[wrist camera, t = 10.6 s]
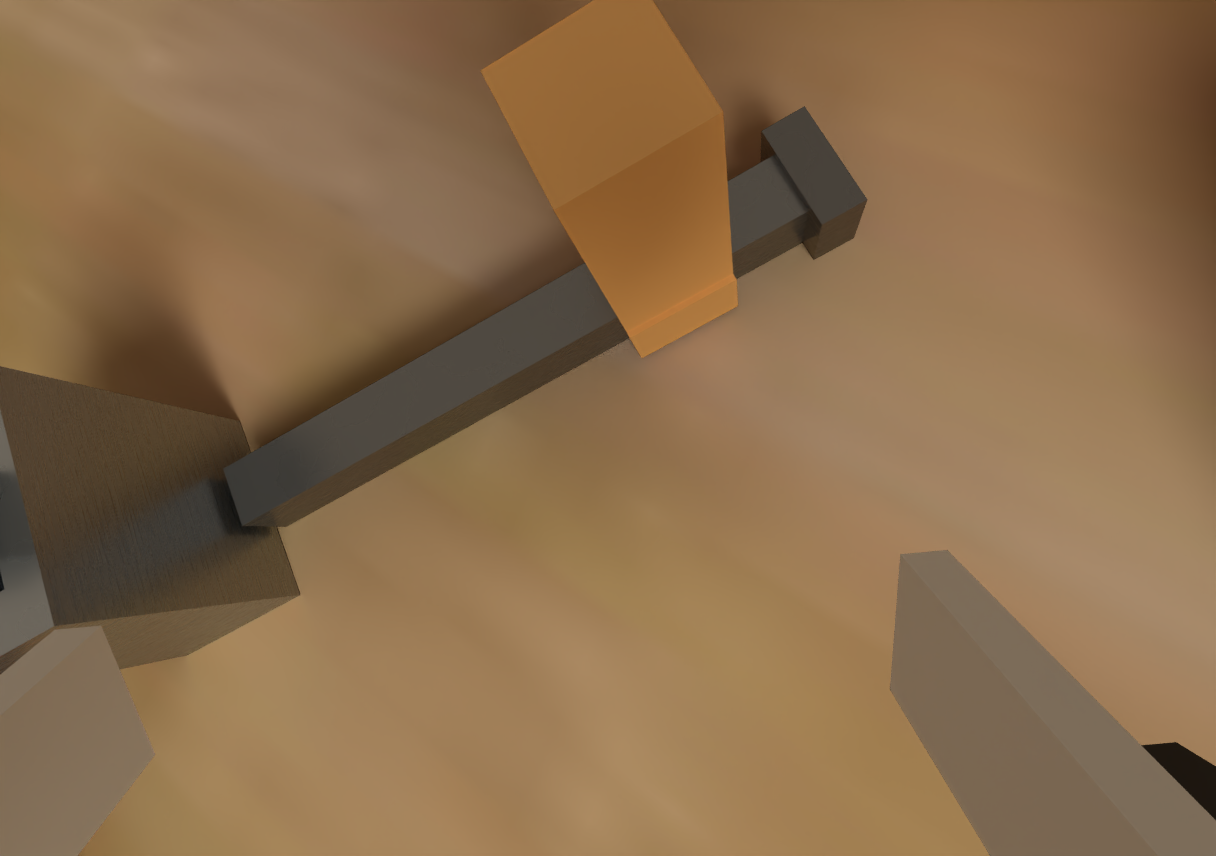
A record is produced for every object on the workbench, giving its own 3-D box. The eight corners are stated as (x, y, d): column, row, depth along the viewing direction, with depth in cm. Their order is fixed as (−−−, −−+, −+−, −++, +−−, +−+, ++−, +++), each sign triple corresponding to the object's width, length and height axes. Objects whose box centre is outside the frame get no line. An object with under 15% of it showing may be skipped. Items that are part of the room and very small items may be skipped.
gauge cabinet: (237, 414, 35) (-14, 354, 24) (300, 594, 33) (54, 626, 21) (133, 474, 36) (-160, 445, 24) (186, 655, 34) (-111, 717, 22)
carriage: (681, 209, 31) (631, -34, 18) (737, 306, 30) (728, 120, 17) (590, 261, 32) (476, 62, 19) (642, 358, 31) (558, 219, 17)
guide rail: (798, 153, 31) (804, 106, 28) (853, 237, 30) (867, 199, 26) (261, 457, 34) (208, 449, 31) (292, 544, 33) (240, 545, 30)
